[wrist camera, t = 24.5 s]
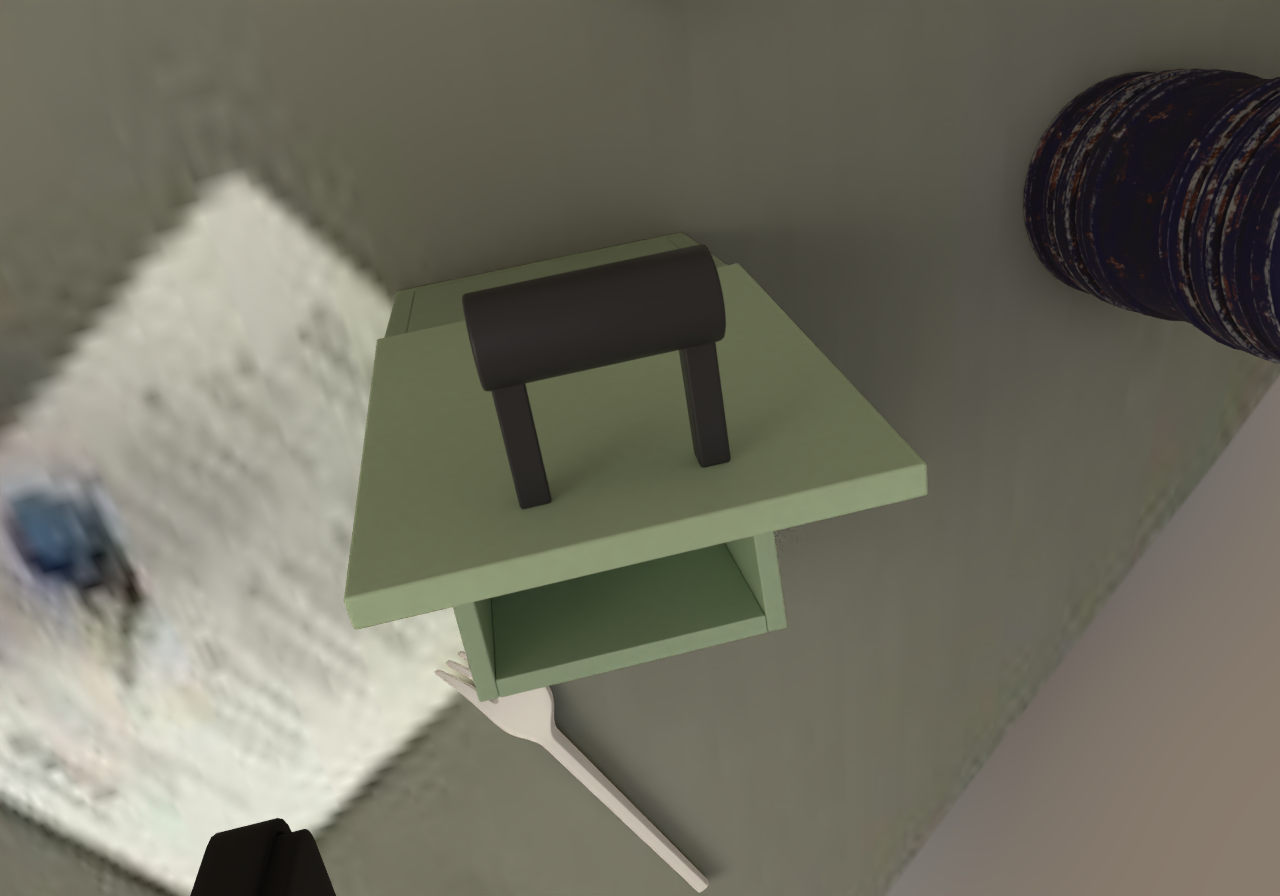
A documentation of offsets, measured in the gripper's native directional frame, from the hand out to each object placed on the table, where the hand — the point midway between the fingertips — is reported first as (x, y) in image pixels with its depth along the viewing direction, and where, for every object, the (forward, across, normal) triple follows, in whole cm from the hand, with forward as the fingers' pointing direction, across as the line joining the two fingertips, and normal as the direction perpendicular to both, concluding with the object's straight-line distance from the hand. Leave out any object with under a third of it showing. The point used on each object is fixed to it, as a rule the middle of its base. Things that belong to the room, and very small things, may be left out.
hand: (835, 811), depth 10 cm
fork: (+36, +4, +26) cm, 45 cm away
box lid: (+19, +1, +2) cm, 19 cm away
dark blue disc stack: (+36, -25, +4) cm, 44 cm away
